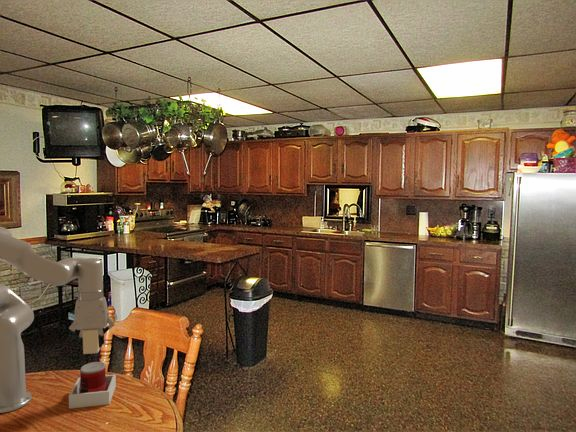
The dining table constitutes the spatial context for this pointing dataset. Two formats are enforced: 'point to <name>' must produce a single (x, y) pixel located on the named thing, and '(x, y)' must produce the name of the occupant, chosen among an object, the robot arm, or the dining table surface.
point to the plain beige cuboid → (91, 341)
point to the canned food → (93, 377)
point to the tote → (92, 394)
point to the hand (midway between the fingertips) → (92, 346)
